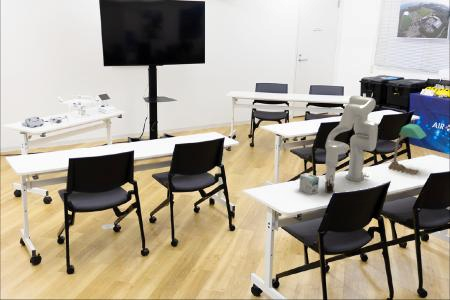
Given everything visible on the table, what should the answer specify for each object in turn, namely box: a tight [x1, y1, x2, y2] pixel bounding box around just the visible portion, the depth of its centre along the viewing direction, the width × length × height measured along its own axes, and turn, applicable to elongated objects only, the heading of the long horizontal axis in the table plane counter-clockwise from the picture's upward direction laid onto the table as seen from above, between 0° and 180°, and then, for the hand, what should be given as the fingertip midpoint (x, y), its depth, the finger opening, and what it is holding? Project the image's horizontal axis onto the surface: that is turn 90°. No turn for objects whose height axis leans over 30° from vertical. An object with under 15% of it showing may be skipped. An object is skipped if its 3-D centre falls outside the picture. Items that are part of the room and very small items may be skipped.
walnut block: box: [324, 180, 335, 193], centre depth 291 cm, size 5×5×5 cm
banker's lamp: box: [387, 123, 427, 175], centre depth 334 cm, size 16×21×35 cm
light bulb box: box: [298, 172, 320, 195], centre depth 291 cm, size 11×7×11 cm, turn 40°
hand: (329, 189), depth 292 cm, fingers closed on walnut block, 4 cm apart
